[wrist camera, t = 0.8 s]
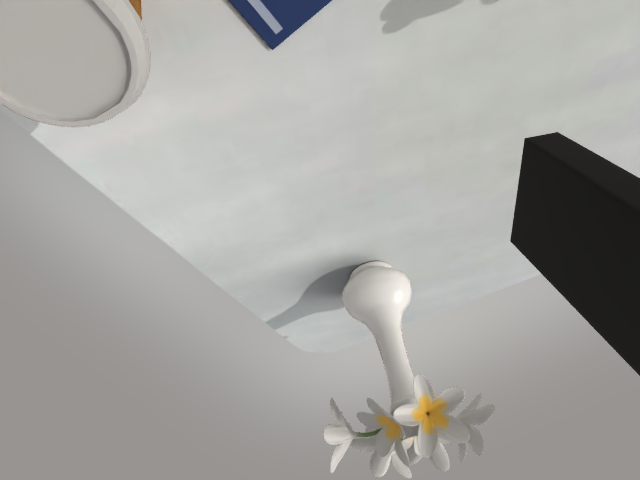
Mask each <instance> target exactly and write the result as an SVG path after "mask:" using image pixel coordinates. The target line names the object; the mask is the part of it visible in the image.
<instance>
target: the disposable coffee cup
mask: <svg viewBox="0 0 640 480" xmlns="http://www.w3.org/2000/svg"><path fill="white" fill-rule="evenodd" d="M149 72H150V48H149V42H148V38H147V35H146V32H145V30H144V27H143V24H142V16H141V0H0V103H1V104H3V105H4V106H6V107H7V108H9V109H10V110H12V111H14V112H16V113H18V114H21V115H23V116H25V117H27V118H29V119H32V120H36V121H39V122H42V123H46V124H49V125H56V126H62V127H83V126H91V125H95V124H99V123H102V122H105V121H107V120H109V119H111V118H113V117H114V116H116V115H117V114H119V113H121V112H122V111H124V110H126V109H127V108H129V107H130V106H131V105H132V104H133V103H134V102H135V101H136V100H137V99H138V97H139V96H140V95H141V94H142V92H143V90H144V88H145V86H146V83H147V80H148V77H149Z"/></svg>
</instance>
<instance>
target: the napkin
mask: <svg viewBox="0 0 640 480" xmlns="http://www.w3.org/2000/svg"><path fill="white" fill-rule="evenodd" d="M229 1H230V2H231V3H232V4H233V5H234V7H235V8H236V9H237V10H238V11H239V12H240V13H241V15H242V16H243V17H244V18H245V19H246V20H247V21H248V23H249V24H250V25H251V26H252V27H253V28H254V29H255V31H256V32H257V33H258V34H259V35H260V36H261V37H262V39H263V40H264V41H265V42H266V43H267V44H268V45H269V47H270V48H271V49H272V50H273V49H274V48H276V47H277V46H278V45H279V44H280V43H282V42H283V41H284V40H285V39H286V38H288V37H289V36H290V35H291V34H292V33H293V32H295V31H296V30H297V29H298V28H299V27H301V26H302V25H303V24H304V23H305V22H307V21H308V20H309V19H310V18H311V17H313V16H314V15H315V14H316V13H317V12H319V11H320V10H321V9H322V8H323V7H324V6H326V5H327V4H328V3H329V2H330V1H332V0H229Z"/></svg>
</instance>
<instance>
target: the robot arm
mask: <svg viewBox="0 0 640 480" xmlns="http://www.w3.org/2000/svg"><path fill="white" fill-rule="evenodd" d="M511 242H512V243H513V244H514V245H515V246H516V247H517V249H518V250H519V251H520V252H521V253H522V254H523V255H524V256H525V257H526V258H527V259H528V260H529V261H530V262H531V263H532V264H533V265H534V266H535V267H536V268H537V269H538V270H539V271H540V272H541V273H542V275H543V276H544V277H545V278H546V279H547V280H548V281H549V282H550V283H551V284H552V285H553V286H554V287H555V288H556V289H557V290H558V291H559V292H560V293H561V294H562V295H563V296H564V297H565V298H566V299H567V300H568V301H569V303H570V304H571V305H572V306H573V307H574V308H575V309H576V310H577V311H578V312H579V313H580V314H581V315H582V316H583V317H584V318H585V319H586V320H587V321H588V322H589V323H590V324H591V326H592V327H594V329H595V330H596V331H597V332H598V333H599V334H600V335H601V336H602V337H603V338H604V339H605V340H606V341H607V342H608V343H609V344H610V345H611V346H612V347H613V348H614V349H615V350H616V352H618V354H619V355H620V356H621V357H622V358H623V359H624V360H625V361H626V362H627V363H628V364H629V365H630V366H631V367H632V368H633V369H634V370H635V371H636V372H637V373H638V374H639V375H640V178H638V177H636V176H635V175H633V174H631V173H629V172H628V171H626V170H624V169H622V168H620V167H619V166H617V165H615V164H613V163H612V162H610V161H608V160H606V159H604V158H603V157H601V156H599V155H597V154H595V153H594V152H592V151H590V150H588V149H587V148H585V147H583V146H581V145H579V144H578V143H576V142H574V141H572V140H571V139H569V138H567V137H565V136H563V135H562V134H560V133H558V132H556V133H551V134H546V135H540V136H535V137H530V138H525V141H524V148H523V155H522V162H521V170H520V177H519V184H518V191H517V198H516V205H515V212H514V219H513V227H512V234H511Z"/></svg>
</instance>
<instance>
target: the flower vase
mask: <svg viewBox="0 0 640 480" xmlns="http://www.w3.org/2000/svg"><path fill="white" fill-rule="evenodd" d="M411 293H412V288H411V284H410V281H409V279H408V278H407V277H406V276H405V275H404V274H403V273H402V272H400V271H398V270H396V269H394V268H392V267H391V266H390V265H389V264H387V263H385V262H380V261H373V262H368V263H365V264H362V265H360V266H359V267H357V268H356V269H355V270H353V272H352V273H351V275H350V278H349V281H348V282H347V284H346V285H345V287H344V290H343V293H342V302H343V305H344V307H345V309H346V310H347V312H348V313H349V315H351V316H352V317H353V318H355V319H356V320H358V321H359V322H361V323H364V324H365V325H366V326H367V327H368V328H369V329H370V331H371V332H372V334H373V335H374V338H375V340H376V342H377V345H378V347H379V351H380V354H381V357H382V360H383V363H384V367H385V370H386V374H387V378H388V382H389V389H390V398H391V406H390V414H389V413H387V412H386V411H384V409H382V408H381V407H380V406H379V405H378V404H377V403H375V402H374V401H373V400H372V399H370V398H367V403H368V406H369V408H370V409H371V410H372V412H374V413H375V414H370V413H365V412H358V413H357V418H358V419H359V420H360V421H361V422H362V423H363V424H364V425H365V426H367V428H366V433H360V432H354V431H353V430H352V428H351V426H350V425H349V423H348V422H347V421H346V419H345V418H344V416H343V415H342V412H341V411H339V409H338V407H337V405H336V404H335V402H334V400H333V399H332V398H331V400H330V405H331V412H332V415H333V418H334V420H335V421H336V422H337V423H338V424H340V425H336V424H329V425H328V426H326V427H325V430H324V438H325V441H326V442H327V443H328V444H331V445H336V444H340V445H338V446H337V447H336V448H335V449H334V452H333V454H332V458H331V465H330V466H331V467H330V470H331V473H333V472H334V470H335V468H336V466H337V464H338V463H339V461H340V459H341V460H342V458H343V455H344V453H345V451H346V450H347V449H348V447H349V446H350V445H351V446H352V447H353V448H355V449H357V450H359V451H364V452H370V451H372V450H374V449H375V448H376V449H375V451H374V453H373V454H372V457H371V460H370V469H371V472H372V474H373V475H374V476H376V477H381V476H383V475H384V474H385V473H386V471H387V469H388V467H389V464H390V460H391V458H392V464H393V466H394V467H395V469H396V470H397V471H398V472H399V473H400V474H401V475H403V476H404V477H406V478H411V477H412V474H411V472H410V470H409V468H408V466H409V465H412V464H414V463H416V462H417V461H418V460H420V459H421V458H422V456H423V457H429V458H430V460H431V462H432V463H433V465H434V466H435V467H436V468H437V469H438V470H440V471H443V472H445V471H447V470H448V469H449V458H448V455H447V452H446V451H445V448H444V447H443V445H442V443H445V444H446V443H447V444H452V443H456V442H458V445H459V459H460V462H461V463H462V462H463V461H464V459H465V456H466V452H467V443H468V444H469V445H470V447H471V448H472V450H473V451H474V452H475V454H477V455H478V456H480V455H482V453H483V452H484V440H483V437H482V434H481V433H480V431H479V430H478V429H477V428H476V427H474V426H473V425H481V424H483V423H485V422H486V421H488V419H490V417H491V416H492V415H493V413H494V410H495V407H494V405H493V404H490V405H486V406H484V407H481V408H479V409H476V408H478V406H479V404H480V402H481V399H482V394H481V393H480V394H478V395H477V397H476V398H475V399H474V400H473V401H472V402H471V404H470V405H469V406H468V407H467V408H466V409H464V410H463V411H462V412H461V413H460V414H459V415H458V416H457V417H453V416H451V415H449V414H446V413H450V412H452V411H454V410H455V409H456V408H458V407H459V406H460V405H461V403H462V402H463V399H464V396H465V391H464V389H463V388H462V387H460V386H453V387H450V388H447V389H446V390H444V391H443V392H441V393H440V394H438V395H437V396H436V397H435V398H434V395H435V393H434V390H433V387H432V385H431V383H430V382H429V380H428V379H427V378H426V377H425V376H423V375H421V374H419V375H417V376H415V377H414V375H413V372H412V369H411V366H410V363H409V359H408V355H407V352H406V348H405V344H404V340H403V335H402V328H401V323H402V316H403V313H404V311H405V310H406V308H407V306H408V305H409V302H410V300H411ZM471 424H473V425H471ZM375 429H376V430H375ZM404 436H406V437H405V438H404ZM355 437H369V438H357V439H354V438H355ZM403 438H404V439H403ZM466 442H467V443H466Z"/></svg>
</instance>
